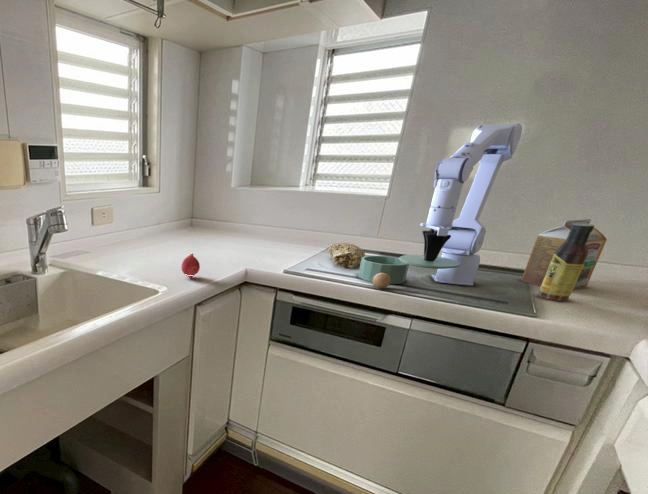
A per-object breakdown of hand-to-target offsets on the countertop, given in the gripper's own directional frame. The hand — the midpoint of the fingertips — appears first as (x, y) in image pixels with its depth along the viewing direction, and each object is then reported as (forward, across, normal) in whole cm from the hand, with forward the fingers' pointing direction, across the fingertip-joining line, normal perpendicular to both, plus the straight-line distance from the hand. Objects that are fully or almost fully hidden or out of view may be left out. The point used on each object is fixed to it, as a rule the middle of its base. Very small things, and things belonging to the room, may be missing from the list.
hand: (429, 258), depth 110 cm
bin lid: (+1, 0, 0) cm, 1 cm away
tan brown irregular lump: (+10, -32, -20) cm, 39 cm away
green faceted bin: (+10, -13, -9) cm, 19 cm away
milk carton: (+10, -27, +38) cm, 47 cm away
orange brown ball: (+10, -1, -10) cm, 14 cm away
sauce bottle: (+10, -9, +32) cm, 35 cm away
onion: (+10, +11, -65) cm, 67 cm away
